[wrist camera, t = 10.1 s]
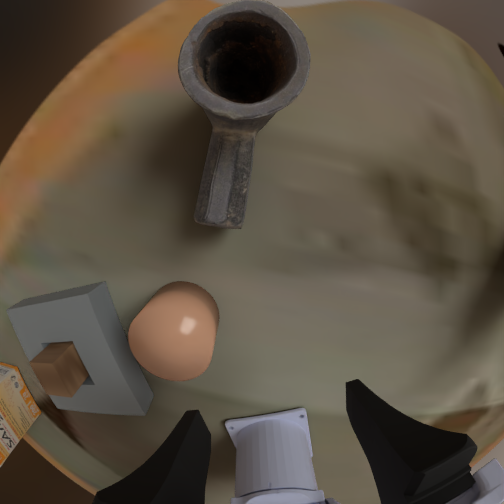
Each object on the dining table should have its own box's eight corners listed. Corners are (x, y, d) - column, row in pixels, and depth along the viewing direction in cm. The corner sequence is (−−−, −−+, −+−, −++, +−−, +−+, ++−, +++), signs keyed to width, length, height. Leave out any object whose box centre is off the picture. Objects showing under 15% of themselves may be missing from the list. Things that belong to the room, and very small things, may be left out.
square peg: (99, 361, 22) (71, 397, 16) (76, 361, 22) (47, 394, 16) (86, 330, 21) (52, 363, 15) (62, 332, 21) (29, 362, 16)
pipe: (184, 216, 19) (144, 232, 12) (214, 55, 17) (198, -7, 9) (268, 229, 20) (281, 254, 12) (294, 65, 17) (318, 7, 9)
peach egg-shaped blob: (227, 339, 21) (222, 376, 17) (164, 348, 22) (147, 383, 17) (208, 274, 20) (197, 300, 15) (142, 288, 20) (115, 314, 16)
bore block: (154, 395, 23) (145, 415, 20) (69, 393, 23) (57, 408, 20) (105, 281, 20) (87, 293, 17) (23, 299, 21) (6, 309, 18)
